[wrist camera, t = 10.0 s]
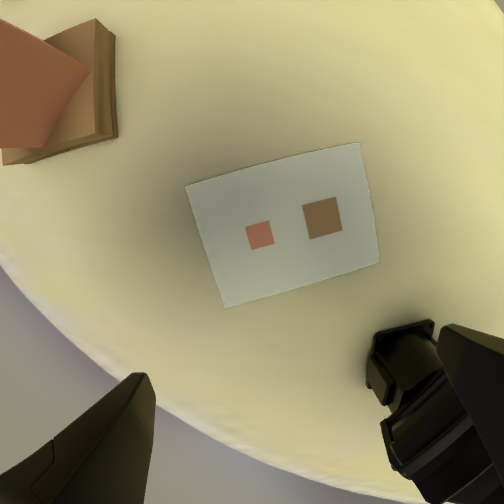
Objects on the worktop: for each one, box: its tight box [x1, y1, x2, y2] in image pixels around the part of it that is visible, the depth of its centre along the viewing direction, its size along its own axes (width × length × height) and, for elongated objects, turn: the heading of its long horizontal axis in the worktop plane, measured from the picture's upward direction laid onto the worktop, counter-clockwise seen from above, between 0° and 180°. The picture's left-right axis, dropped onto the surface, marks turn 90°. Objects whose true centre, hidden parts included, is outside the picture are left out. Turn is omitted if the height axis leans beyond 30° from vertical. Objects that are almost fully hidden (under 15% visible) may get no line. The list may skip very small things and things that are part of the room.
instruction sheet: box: [185, 142, 380, 308], centre depth 20 cm, size 12×9×1 cm
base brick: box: [2, 18, 118, 166], centre depth 14 cm, size 8×8×4 cm
